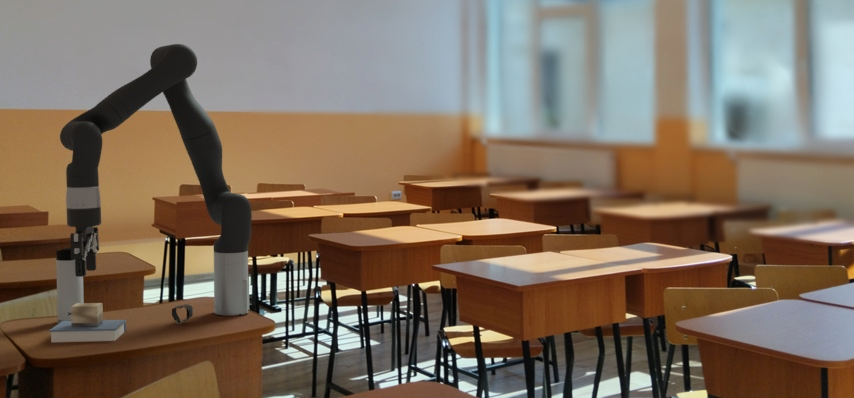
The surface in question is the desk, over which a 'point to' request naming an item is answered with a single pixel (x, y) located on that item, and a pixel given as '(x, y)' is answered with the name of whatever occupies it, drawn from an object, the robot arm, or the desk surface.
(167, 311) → the desk surface
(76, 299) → the travel mug
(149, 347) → the desk surface
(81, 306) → the tan wooden block
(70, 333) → the textbook
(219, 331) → the desk surface
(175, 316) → the wristwatch
